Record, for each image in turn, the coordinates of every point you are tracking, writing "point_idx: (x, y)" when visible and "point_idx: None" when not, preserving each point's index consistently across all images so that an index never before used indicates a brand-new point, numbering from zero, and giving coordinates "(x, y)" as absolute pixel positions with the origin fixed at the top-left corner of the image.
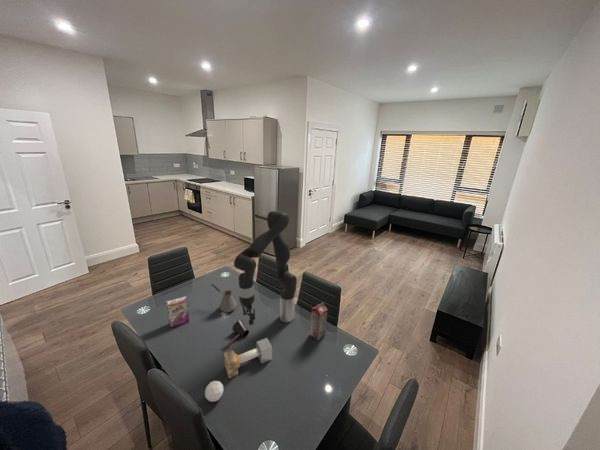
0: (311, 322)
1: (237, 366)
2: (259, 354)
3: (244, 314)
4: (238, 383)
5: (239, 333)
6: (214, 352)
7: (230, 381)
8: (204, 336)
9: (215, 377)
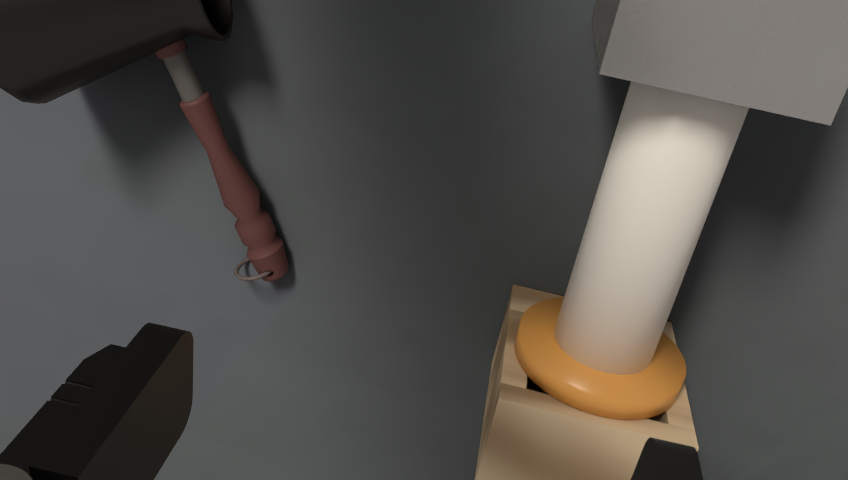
0: None
1: (684, 391)
2: None
3: (178, 417)
4: (764, 368)
5: (168, 57)
6: (263, 350)
7: None
8: (3, 324)
9: None
